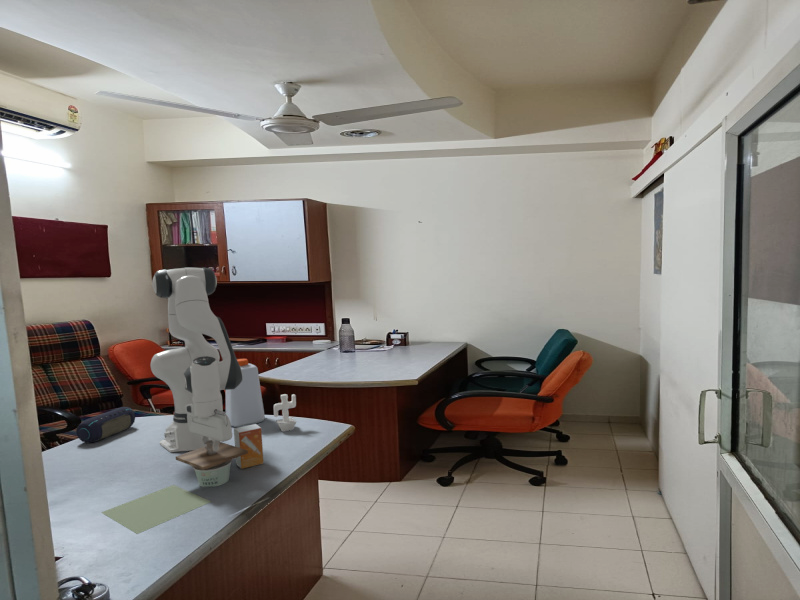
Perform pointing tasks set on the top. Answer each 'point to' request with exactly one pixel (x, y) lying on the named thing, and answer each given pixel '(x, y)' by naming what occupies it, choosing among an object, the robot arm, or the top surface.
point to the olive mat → (155, 508)
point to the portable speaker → (105, 424)
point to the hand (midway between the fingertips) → (211, 449)
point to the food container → (213, 475)
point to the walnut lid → (211, 455)
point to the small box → (249, 445)
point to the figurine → (285, 413)
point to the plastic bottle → (245, 398)
